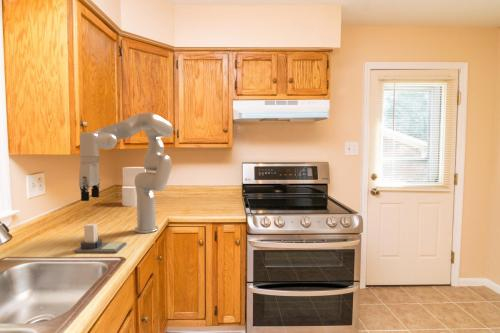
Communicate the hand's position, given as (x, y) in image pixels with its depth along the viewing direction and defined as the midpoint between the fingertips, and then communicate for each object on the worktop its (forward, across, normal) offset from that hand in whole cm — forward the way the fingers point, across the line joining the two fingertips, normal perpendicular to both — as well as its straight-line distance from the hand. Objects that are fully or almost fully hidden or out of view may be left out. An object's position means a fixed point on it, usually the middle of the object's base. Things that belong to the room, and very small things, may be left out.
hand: (90, 198), depth 147 cm
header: (+23, 0, +4) cm, 23 cm away
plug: (+22, 0, 0) cm, 22 cm away
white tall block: (+22, -105, -15) cm, 109 cm away
